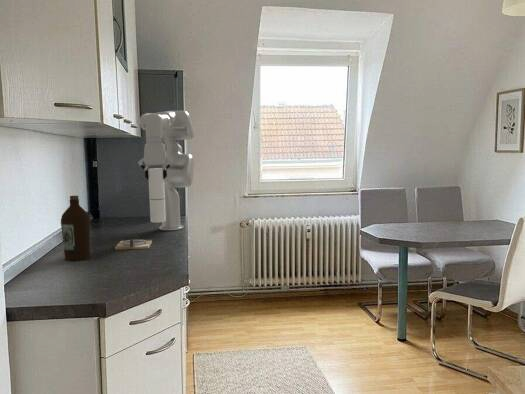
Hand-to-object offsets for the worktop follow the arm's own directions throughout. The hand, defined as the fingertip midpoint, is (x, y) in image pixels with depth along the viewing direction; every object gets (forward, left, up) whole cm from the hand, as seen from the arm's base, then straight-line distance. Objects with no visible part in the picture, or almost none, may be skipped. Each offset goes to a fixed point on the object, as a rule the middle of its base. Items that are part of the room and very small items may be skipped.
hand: (156, 178), depth 217 cm
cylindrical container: (-1, 0, -21) cm, 21 cm away
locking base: (+14, -9, -29) cm, 33 cm away
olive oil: (+34, -28, -29) cm, 53 cm away
